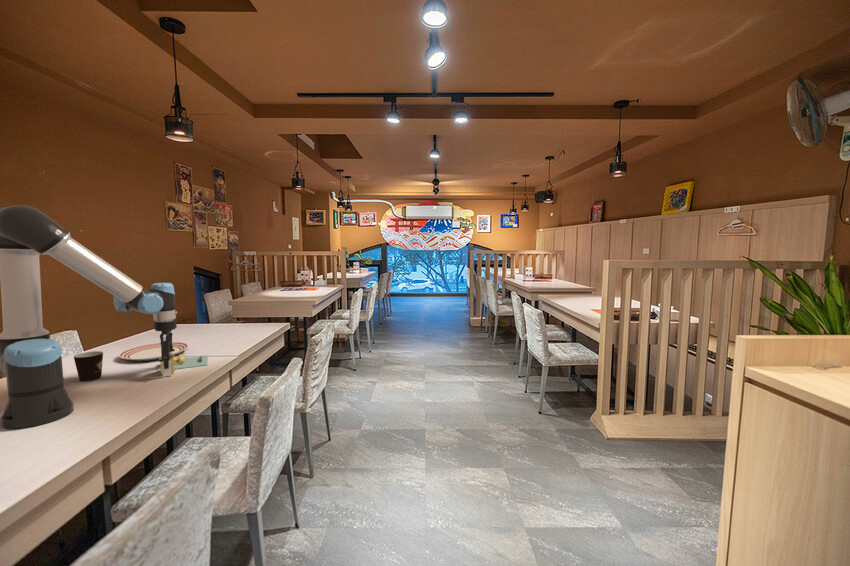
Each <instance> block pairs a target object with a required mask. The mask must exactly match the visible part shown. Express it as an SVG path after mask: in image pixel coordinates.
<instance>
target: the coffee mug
mask: <svg viewBox="0 0 850 566" xmlns="http://www.w3.org/2000/svg"><path fill="white" fill-rule="evenodd" d="M103 359H104V351H100V350H98V351H97V350H95V351H93V350H92V351H87V352H81V353H78V354H74V355H73V361H74V364H75V369H76V371H77V375H78V381H79V382H84V383H85V382H92V381H96V380H98V379H101V378H102V374H103V373H102V371H103Z"/></svg>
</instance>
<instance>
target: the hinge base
mask: <svg viewBox="0 0 850 566" xmlns="http://www.w3.org/2000/svg"><path fill="white" fill-rule="evenodd" d="M208 358H209V356H208V355H200V356H191V357H186V355H185V354H182V353H179V355H178V354H177V356H176V355H175V356H174V366H175V371H176V370H182V369H190V368H197V367H205V366H208V360H209V359H208ZM159 372H161V364H160V365H159V368H158V369H157V373H159Z"/></svg>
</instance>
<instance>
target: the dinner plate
mask: <svg viewBox="0 0 850 566" xmlns="http://www.w3.org/2000/svg"><path fill="white" fill-rule="evenodd" d="M172 345H173V349H175V351H172V352H173V355H174V356H176V355H178V354H181V353H183V352H185V350H187V349H188V348H189V346H190V345H189V344H188V343H187V342H182V341H172ZM160 357H161V342H155V343H149V344H143V345H140V346H135V347H132V348H127V349H126V350H124V351H121V352H120V353H119V354H118V358H120V359H123V360H128V361H134V362H135V361H136V362H146V361H147V362H149V361H156V360H158V361H159V359H160Z"/></svg>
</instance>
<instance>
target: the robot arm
mask: <svg viewBox="0 0 850 566" xmlns="http://www.w3.org/2000/svg"><path fill="white" fill-rule="evenodd" d="M41 255H48V256H50V257H51V258H53V259H55V260H56V261H58V262H60V263H61V264H63V265H64V266H66V267H68V268H69V269H71V270H72V271H73V272H75V273H77V274H79V275H81V276H82V277H83V278H85V279H86V280H88V281H90V282H91V283H93V284H95V285H96V286H98V287H99V288H101V289H103V290H104V291H106V292H107V293H109V294H111V295H112V296H113V299H112V300H113V301H112V303H113V306H114V309H115V310H116V311H117V312H128V311H130V312H131V311H134V312H138V313H141V314H144V315H152V317H153V321H154V322H153V326H154V331H156V332H161V333H160V334H159V339H160V343H161V358H162V359H161V360H160V362H159V363H161V362H162V367H163V376H162V377H170V376H172V375H171V361H170V355H173V352H172V351H175V349H173V345H172V342H173V332H172V331H173V330H176V329H177V328H178V327H177V320H176V319H177V316H176V315H177V314H178V311H176V296H175V295H176V293H175V286H174V285H173V283H171V282H155V283H152V284H151V286H150V288H148V289H147V288H145V287H144V286H142V285H141V284H140V283H138V282H136V281H135V280H134V279H132V278H131V277H129V276H128V275H127V274H125V273H124V272H123V271H120V270H119V269H117V268H116V267H115V266H113V265H112V264H110V263H109V262H107V261H105V260H104V259H103V258H102V257H100V256H98V255H97V254H95V252H93V251H91V250H90V249H88V248H87V247H85V246H84V245H83V244H81V243H80V242H78V241H77V240H75V239H73V238H72V236H71V232H70V231H68V230H67V229H65V228H64V227H63V226H61V225H60V224H59V223H57V222H56V221H54V220H53V219H52V218H51V217H50V216H49V215H47V214H45V213H44V212H42V211H41V210H40V209H37V208H34V207H33V206H29V205H22V204H21V205H20V204H17V205H10V206H7V207H6V206H5V207H2V208H0V296H1V297H0V298H1V313H2V316H1V317H2V332H0V370H1V372H3V373H4V374H5V376H6V387H7V394H8V395H7V397H8V399H7V402H6V404H5V405H6V406H5V408H4V410H3V413H2V415H1V418H0V419H1V427H2V428H4V429H13V430H15V429H24V428H25V429H26V428H31V427H37V426H40V425H45V424H47V423H51V422H54V421H57V420H60V419H62V418H65V417H67V416H68V415H71V413H73V412H74V410H75V409H74V401H73V400H72V398H71V397H70V395H69V394H68V391H67V390H66V388H65V385H64V384H65V383H64V371H63V358H62V353H63V350H62V348H61V344H60V342H59V341H57V340H56V339H51V335H50V331H49V330H48V329H46V328H44V327H43V326H44V325H43V323H44V322H43V304H42V286H41V285H42V283H41V266H40V256H41ZM164 357H167V358H164Z"/></svg>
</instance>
